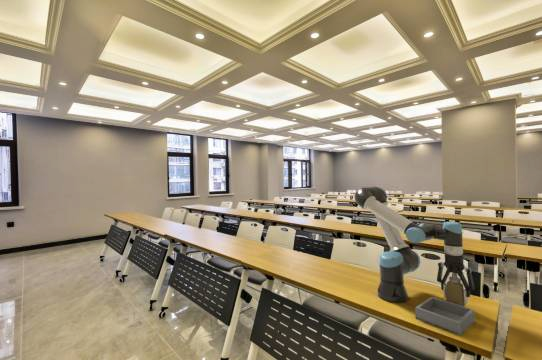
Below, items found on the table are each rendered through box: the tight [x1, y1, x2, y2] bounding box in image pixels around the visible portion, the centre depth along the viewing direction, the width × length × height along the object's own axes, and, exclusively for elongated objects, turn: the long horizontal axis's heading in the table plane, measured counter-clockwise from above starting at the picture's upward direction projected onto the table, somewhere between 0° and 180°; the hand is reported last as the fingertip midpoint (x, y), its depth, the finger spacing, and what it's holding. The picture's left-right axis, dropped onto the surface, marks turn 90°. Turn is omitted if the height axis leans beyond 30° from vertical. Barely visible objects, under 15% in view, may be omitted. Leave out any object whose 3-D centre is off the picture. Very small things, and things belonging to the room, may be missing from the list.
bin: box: [414, 296, 476, 337], centre depth 116 cm, size 17×17×5 cm
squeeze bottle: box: [445, 272, 466, 307], centre depth 126 cm, size 8×8×18 cm
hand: (455, 299), depth 126 cm, fingers closed on squeeze bottle, 8 cm apart
